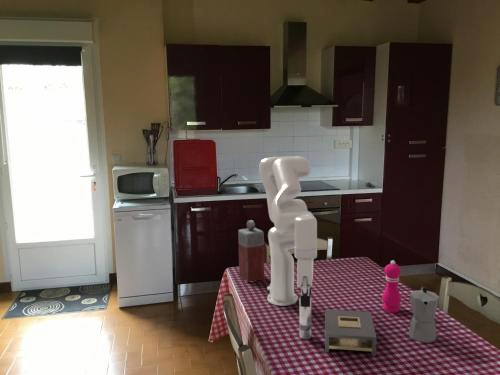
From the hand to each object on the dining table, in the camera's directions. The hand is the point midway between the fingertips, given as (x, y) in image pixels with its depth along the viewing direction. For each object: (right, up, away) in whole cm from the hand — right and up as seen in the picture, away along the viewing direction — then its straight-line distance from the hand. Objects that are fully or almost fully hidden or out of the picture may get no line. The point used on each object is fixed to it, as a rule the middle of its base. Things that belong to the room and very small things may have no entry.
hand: (305, 300), depth 152 cm
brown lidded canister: (-17, -4, +57) cm, 60 cm away
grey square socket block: (+15, -14, 0) cm, 20 cm away
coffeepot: (+41, -13, +3) cm, 43 cm away
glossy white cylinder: (0, -13, +3) cm, 14 cm away
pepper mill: (+36, -9, +22) cm, 44 cm away
